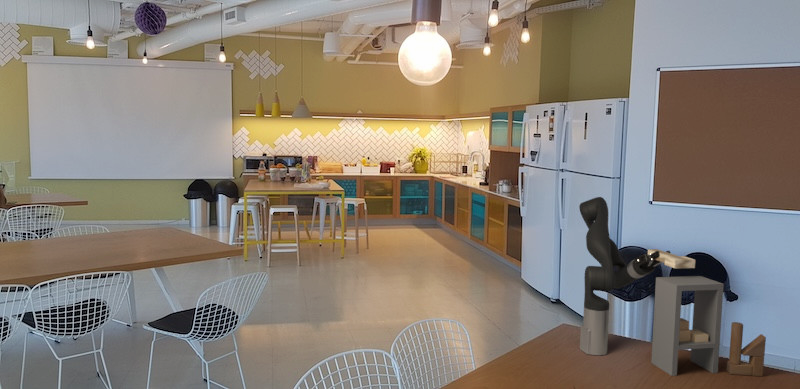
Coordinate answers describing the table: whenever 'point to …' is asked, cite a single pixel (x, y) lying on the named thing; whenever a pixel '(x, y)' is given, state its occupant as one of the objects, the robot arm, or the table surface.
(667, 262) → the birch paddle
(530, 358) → the table surface
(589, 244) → the robot arm
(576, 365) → the table surface
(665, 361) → the frame
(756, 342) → the wooden block
